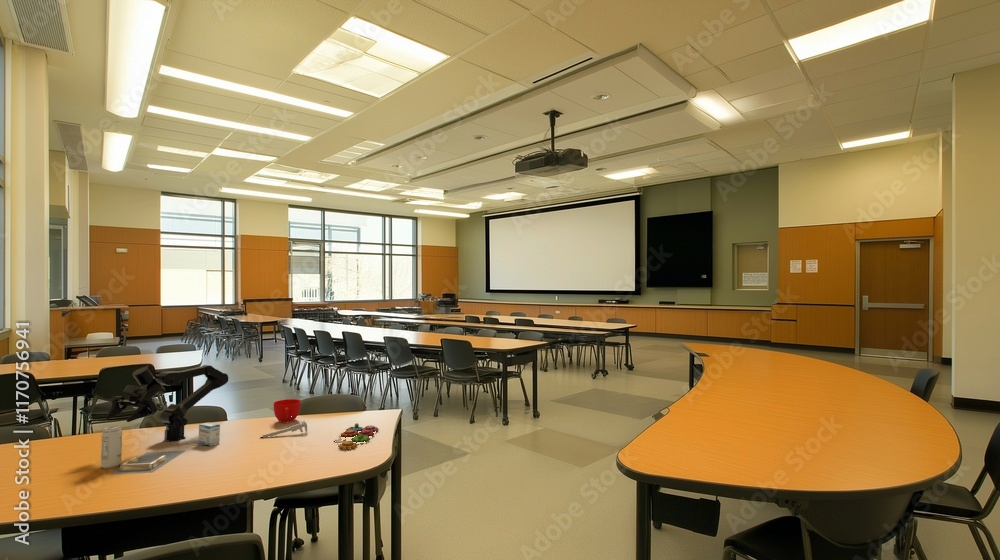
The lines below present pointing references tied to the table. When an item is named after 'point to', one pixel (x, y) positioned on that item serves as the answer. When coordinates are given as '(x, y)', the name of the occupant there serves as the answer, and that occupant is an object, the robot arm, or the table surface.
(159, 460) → the pocket
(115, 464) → the energy drink can
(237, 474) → the table surface
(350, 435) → the gear puzzle
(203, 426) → the medicine box
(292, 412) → the ceramic cup
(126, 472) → the mat
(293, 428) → the caliper
